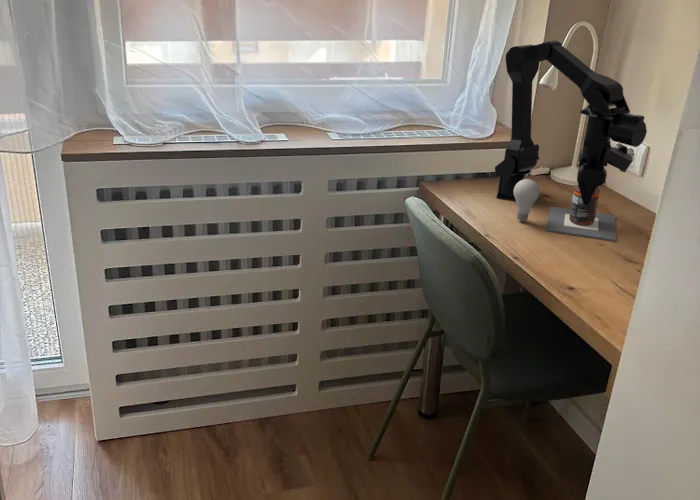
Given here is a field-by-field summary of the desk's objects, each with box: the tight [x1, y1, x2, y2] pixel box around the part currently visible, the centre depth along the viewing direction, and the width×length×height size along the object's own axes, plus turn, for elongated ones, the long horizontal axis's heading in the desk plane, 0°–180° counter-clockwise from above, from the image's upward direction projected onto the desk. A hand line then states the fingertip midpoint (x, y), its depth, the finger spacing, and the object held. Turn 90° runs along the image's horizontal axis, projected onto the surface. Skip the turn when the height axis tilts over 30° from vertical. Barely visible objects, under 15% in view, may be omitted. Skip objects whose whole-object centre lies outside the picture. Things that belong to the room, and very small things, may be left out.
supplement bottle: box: [569, 184, 600, 225], centre depth 169 cm, size 6×6×11 cm
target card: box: [545, 206, 617, 243], centre depth 171 cm, size 16×16×1 cm
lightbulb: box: [513, 178, 540, 223], centre depth 169 cm, size 6×6×11 cm
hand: (586, 198), depth 168 cm, fingers open, 9 cm apart
